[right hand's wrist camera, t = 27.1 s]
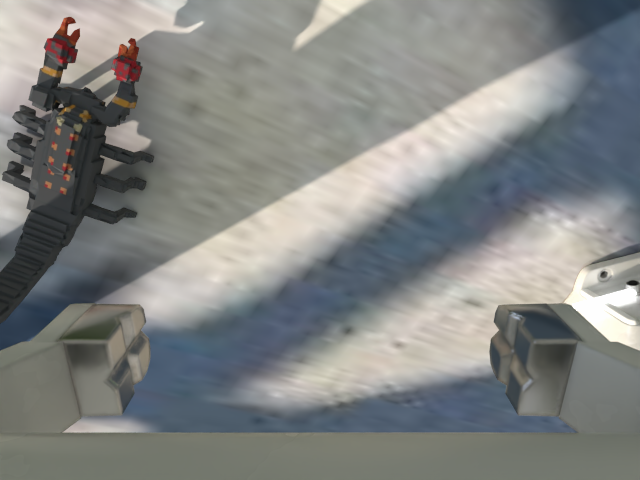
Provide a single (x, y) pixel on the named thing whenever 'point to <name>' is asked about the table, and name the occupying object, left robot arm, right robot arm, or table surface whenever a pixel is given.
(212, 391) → the table surface
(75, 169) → the toy
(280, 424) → the table surface
